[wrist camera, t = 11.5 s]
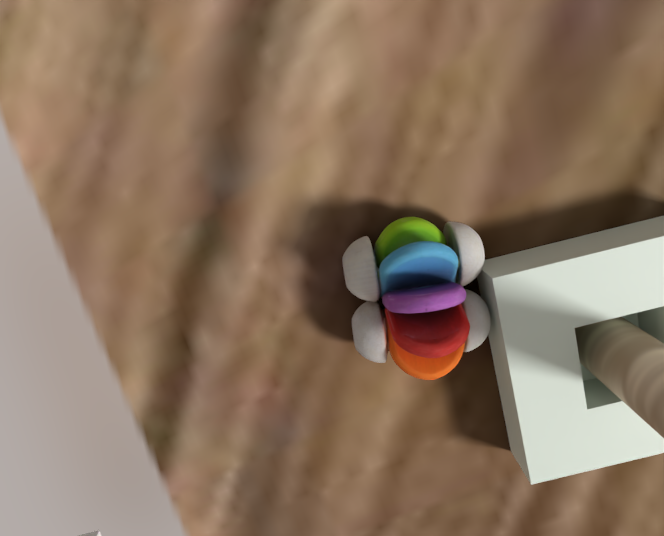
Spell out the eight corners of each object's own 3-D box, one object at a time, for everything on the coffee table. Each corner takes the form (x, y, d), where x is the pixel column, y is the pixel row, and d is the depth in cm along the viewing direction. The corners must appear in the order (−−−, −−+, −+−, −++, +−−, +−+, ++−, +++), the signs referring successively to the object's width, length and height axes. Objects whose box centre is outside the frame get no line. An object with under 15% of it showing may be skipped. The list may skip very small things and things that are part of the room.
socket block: (474, 262, 39) (492, 278, 36) (687, 209, 39) (729, 219, 35) (510, 451, 43) (531, 484, 39) (707, 403, 42) (747, 432, 39)
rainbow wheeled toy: (356, 363, 41) (366, 414, 34) (336, 221, 39) (342, 244, 32) (481, 344, 41) (517, 391, 34) (469, 201, 39) (505, 220, 32)
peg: (564, 318, 40) (696, 421, 26) (624, 303, 40) (788, 399, 26) (573, 373, 41) (705, 499, 27) (632, 358, 41) (793, 478, 27)
